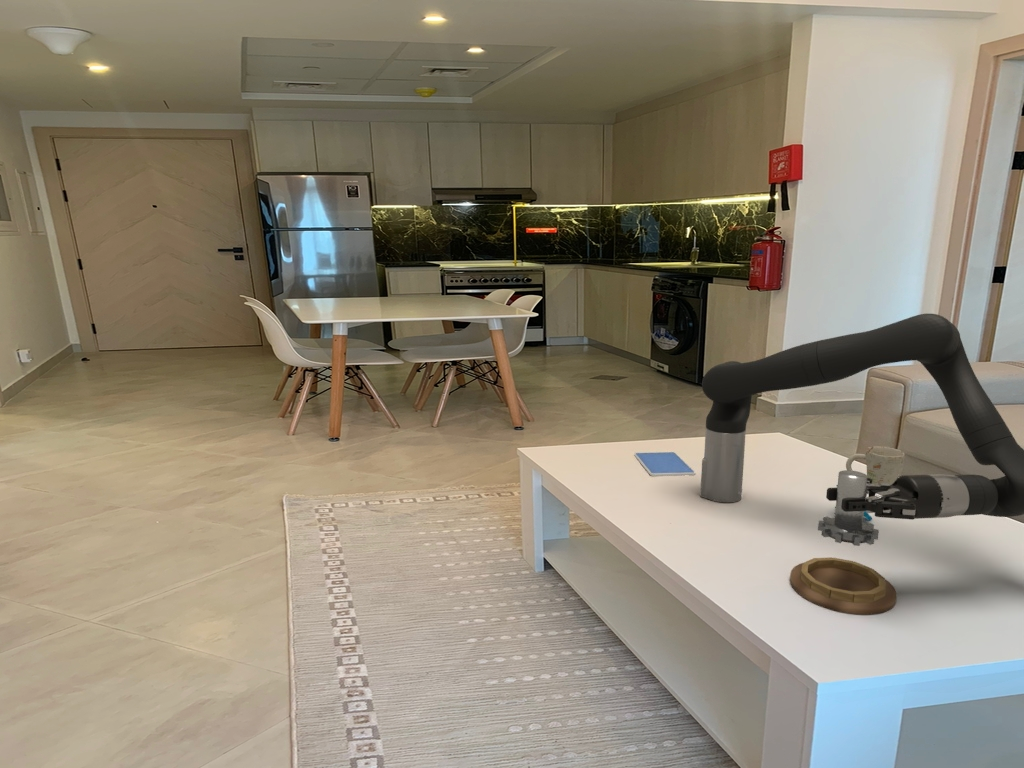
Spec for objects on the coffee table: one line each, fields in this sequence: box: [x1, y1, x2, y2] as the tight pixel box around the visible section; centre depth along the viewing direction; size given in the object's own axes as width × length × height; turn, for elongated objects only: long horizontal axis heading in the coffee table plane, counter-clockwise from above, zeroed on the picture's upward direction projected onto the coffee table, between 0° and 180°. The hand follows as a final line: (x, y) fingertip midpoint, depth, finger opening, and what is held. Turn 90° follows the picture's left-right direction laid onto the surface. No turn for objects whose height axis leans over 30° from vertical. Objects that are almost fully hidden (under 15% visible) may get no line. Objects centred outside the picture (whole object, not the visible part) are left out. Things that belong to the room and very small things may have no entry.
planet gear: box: [817, 469, 880, 547], centre depth 115 cm, size 9×9×11 cm
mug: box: [845, 446, 905, 485], centre depth 167 cm, size 8×13×10 cm, turn 58°
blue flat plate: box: [633, 451, 696, 477], centre depth 187 cm, size 19×13×1 cm, turn 4°
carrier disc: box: [789, 557, 897, 616], centre depth 118 cm, size 17×17×3 cm
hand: (835, 499), depth 115 cm, fingers closed on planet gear, 4 cm apart
